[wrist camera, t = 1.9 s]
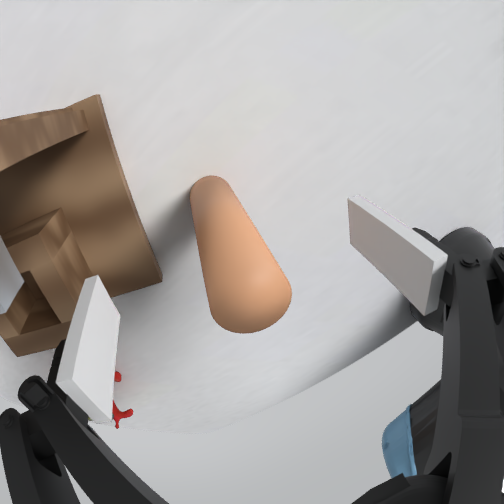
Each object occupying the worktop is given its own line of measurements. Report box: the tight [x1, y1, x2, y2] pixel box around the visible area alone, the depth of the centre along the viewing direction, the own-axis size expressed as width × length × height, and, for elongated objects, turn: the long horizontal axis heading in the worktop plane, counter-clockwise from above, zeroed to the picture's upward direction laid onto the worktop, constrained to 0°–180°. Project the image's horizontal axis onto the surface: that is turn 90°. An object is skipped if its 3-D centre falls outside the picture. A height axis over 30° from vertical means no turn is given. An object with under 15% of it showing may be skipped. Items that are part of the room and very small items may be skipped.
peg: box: [190, 176, 292, 333], centre depth 19 cm, size 3×3×14 cm
